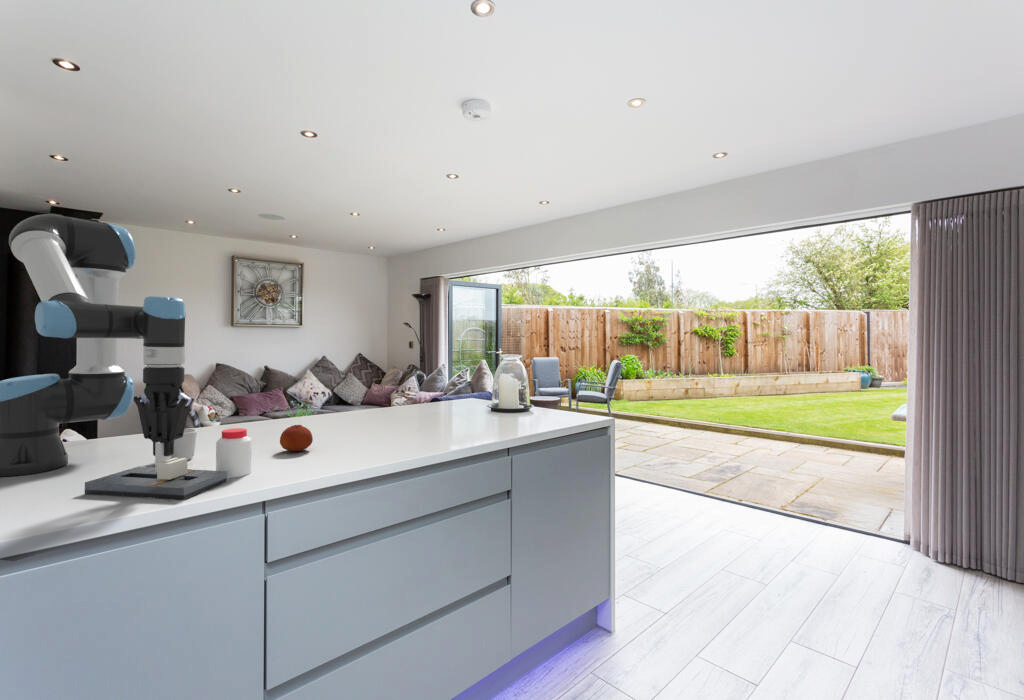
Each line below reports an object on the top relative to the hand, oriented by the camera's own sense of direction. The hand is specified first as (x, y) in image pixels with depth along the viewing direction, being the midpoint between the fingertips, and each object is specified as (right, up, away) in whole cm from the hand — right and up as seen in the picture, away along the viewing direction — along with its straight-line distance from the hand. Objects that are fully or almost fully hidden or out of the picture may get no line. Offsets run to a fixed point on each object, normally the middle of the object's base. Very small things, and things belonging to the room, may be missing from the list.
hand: (163, 470), depth 107 cm
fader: (+2, -3, 0) cm, 4 cm away
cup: (-13, -4, +22) cm, 26 cm away
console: (-1, -4, 0) cm, 4 cm away
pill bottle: (+9, -4, +12) cm, 16 cm away
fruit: (+13, -4, +37) cm, 40 cm away
